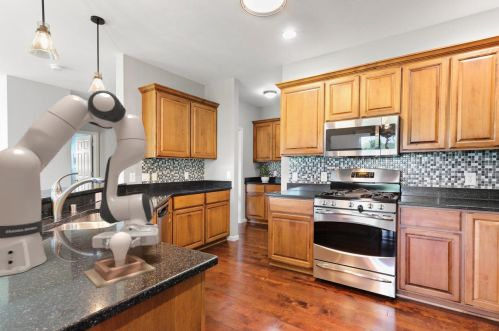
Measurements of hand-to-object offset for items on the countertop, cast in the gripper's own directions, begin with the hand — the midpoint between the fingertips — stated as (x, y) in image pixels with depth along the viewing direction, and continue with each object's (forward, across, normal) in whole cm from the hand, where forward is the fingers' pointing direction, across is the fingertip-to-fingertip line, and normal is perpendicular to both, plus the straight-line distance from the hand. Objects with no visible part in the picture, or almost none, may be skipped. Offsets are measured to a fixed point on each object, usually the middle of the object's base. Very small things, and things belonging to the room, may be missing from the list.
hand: (119, 245), depth 76 cm
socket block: (-1, 0, +8) cm, 8 cm away
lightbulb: (-1, 0, +7) cm, 7 cm away
